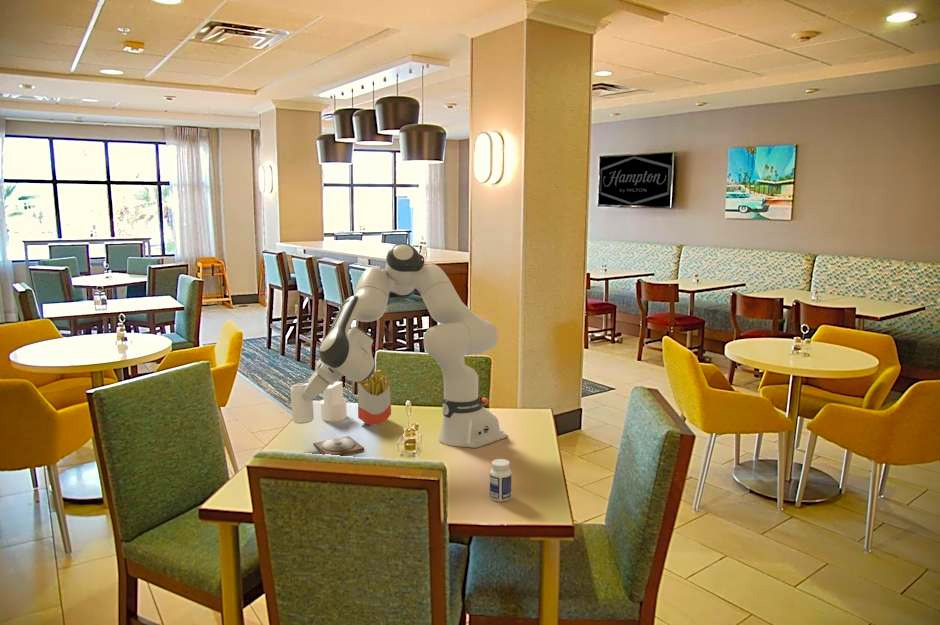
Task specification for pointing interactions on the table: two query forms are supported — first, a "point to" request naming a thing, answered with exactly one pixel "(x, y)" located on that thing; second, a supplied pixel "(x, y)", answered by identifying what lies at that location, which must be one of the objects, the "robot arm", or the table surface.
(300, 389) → the can
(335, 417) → the base with upright slab
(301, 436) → the table surface
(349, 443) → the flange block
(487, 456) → the table surface
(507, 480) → the pill bottle
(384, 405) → the french fries container
